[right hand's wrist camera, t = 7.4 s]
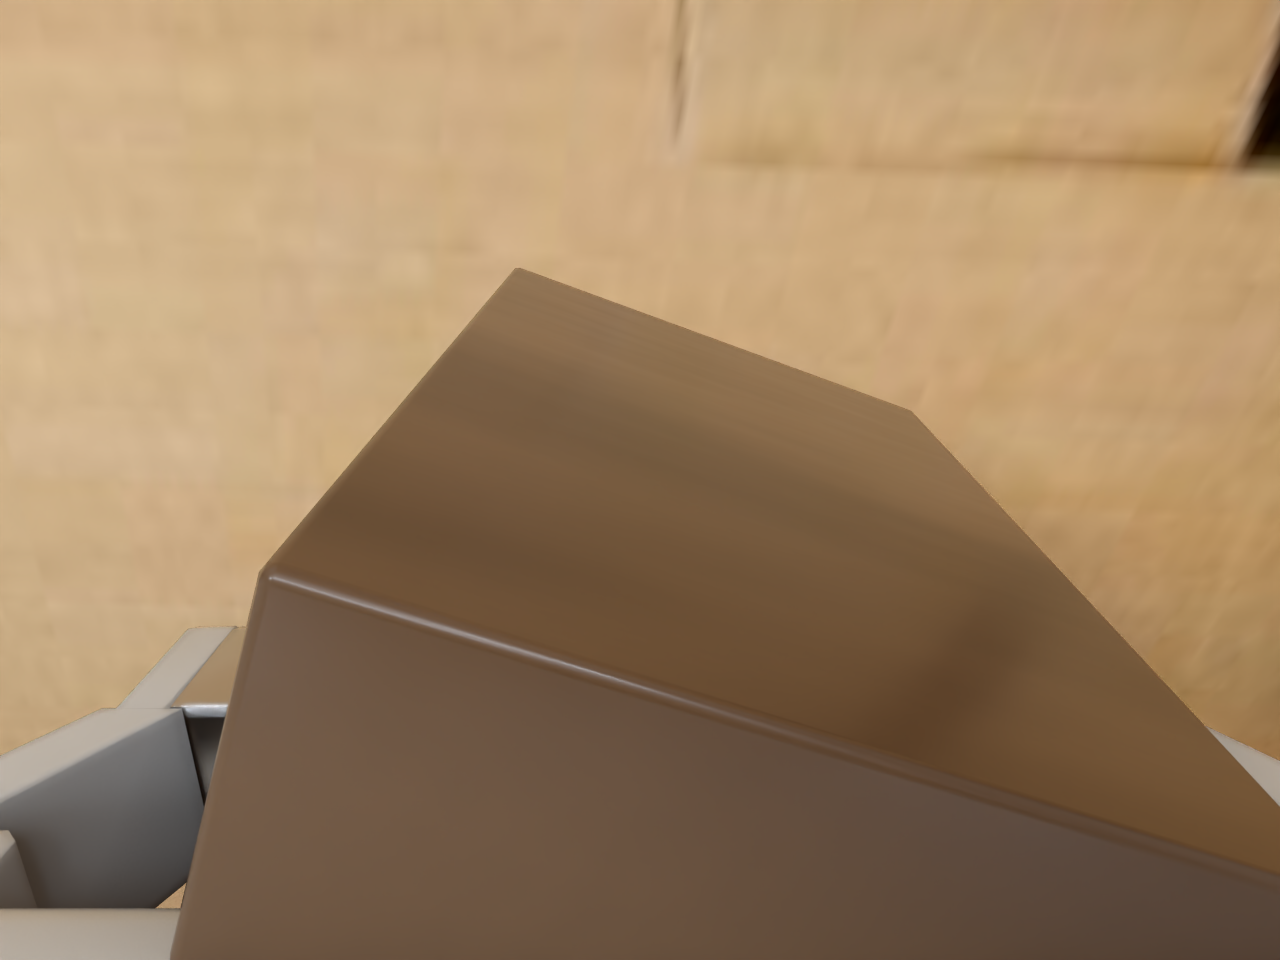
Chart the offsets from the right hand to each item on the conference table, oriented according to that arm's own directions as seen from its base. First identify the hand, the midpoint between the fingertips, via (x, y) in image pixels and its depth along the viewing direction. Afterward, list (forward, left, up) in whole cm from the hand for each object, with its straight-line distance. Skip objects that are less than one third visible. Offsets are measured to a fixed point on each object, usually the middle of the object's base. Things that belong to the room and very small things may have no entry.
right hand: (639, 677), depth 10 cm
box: (+5, +6, -3) cm, 8 cm away
